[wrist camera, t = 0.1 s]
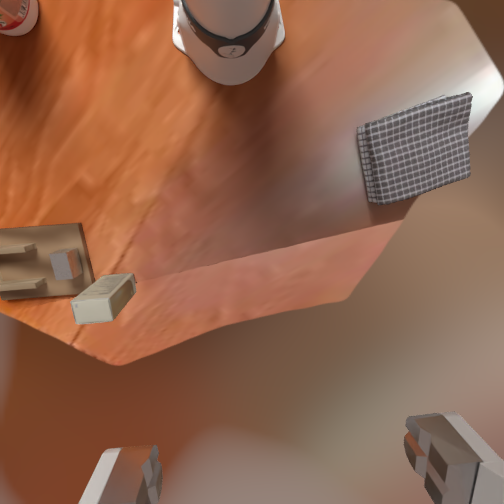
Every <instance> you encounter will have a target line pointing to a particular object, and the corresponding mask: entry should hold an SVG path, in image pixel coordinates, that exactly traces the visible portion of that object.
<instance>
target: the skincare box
mask: <svg viewBox="0 0 504 504" xmlns="http://www.w3.org/2000/svg"><path fill="white" fill-rule="evenodd" d="M135 293H136V286H135V280H134V274H133V273H127V274H113V275H103V276H102V277H101V278H99V279H98V280H97V281H96V282H94V283H93V284H92V285H91V286H89V287H88V288H87V289H85V290H84V291H83V292H82V293H80V294H79V295H78V296H77V297H75V298H74V299H73V300H72V301H71V307H72V311H73V315H74V319H75V322H76V324H89V323H100V322H109V321H113V320H114V319H115V318H116V316H117V315H118V314H119V313H120V311H121V310H122V309H123V308H124V307H125V305H126V304H127V303H128V302H129V300H130V299H131V298H132V297H133V295H134V294H135Z"/></svg>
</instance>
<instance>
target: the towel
mask: <svg viewBox="0 0 504 504" xmlns="http://www.w3.org/2000/svg"><path fill="white" fill-rule="evenodd" d="M472 97H473V96H472V95H471V94H470V93H469V92H466V93H464V94H461V95H456V96H451V97H447V98H446V96H445V95H442V96H440V97H438V98H435V99H433V100H430V101H428V102H425V103H422V104H419V105H416V106H414V107H411V108H408V109H405V110H403V111H399V112H397V113H394V114H392V115H389V116H386V117H384V118H381V119H379V120H376V121H373V122H369V123H366V124H365V125H362V126H359V127H357V139H358V145H359V150H360V156H361V162H362V168H363V173H364V177H365V180H366V185H367V195H368V201H369V202H375V203H377V204H378V205H383V204H390V203H394V202H397V201H402V200H405V199H409V198H412V197H414V196H417V195H421V194H423V193H426V192H428V191H431V190H433V189H436V188H439V187H442V186H443V185H447V184H450V183H453V182H456V181H459V180H462V179H465V178H468V177H469V176H470V158H469V156H470V155H469V144H468V143H469V142H468V131H467V129H468V121H469V115H470V111H471V101H472Z"/></svg>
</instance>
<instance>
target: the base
mask: <svg viewBox="0 0 504 504" xmlns="http://www.w3.org/2000/svg"><path fill="white" fill-rule="evenodd" d="M68 248H77V250H78V254H79V258H80V262H81V266H82V270H83V273H82V274H80V275H78V276H77V277H75V278H74V279H66V280H56V278H55V274H54V270H53V267H52V263H51V260H50V256H49V254H50V253H53V252H55V251H58V250H60V249H68ZM94 282H95V279H94V275H93V271H92V267H91V262H90V258H89V254H88V250H87V246H86V241H85V237H84V233H83V229H82V225H81V223H72V224H58V225H44V226H31V227H17V228H4V229H0V296H1V299H2V300H11V299H23V298H35V297H47V296H59V295H71V294H80V293H82V292H83V291H84V290H85V289H87V288H88V287H89V286H91V285H92V284H93V283H94Z"/></svg>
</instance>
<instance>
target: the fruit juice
mask: <svg viewBox="0 0 504 504" xmlns="http://www.w3.org/2000/svg"><path fill="white" fill-rule="evenodd" d="M37 18H38V2H37V0H0V33H2V34H5V35H10V36H20V35H24V34H26V33H28V32H29V31H30V30H31V29H32V28H33V27H34V25H35V24H36V21H37Z"/></svg>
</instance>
